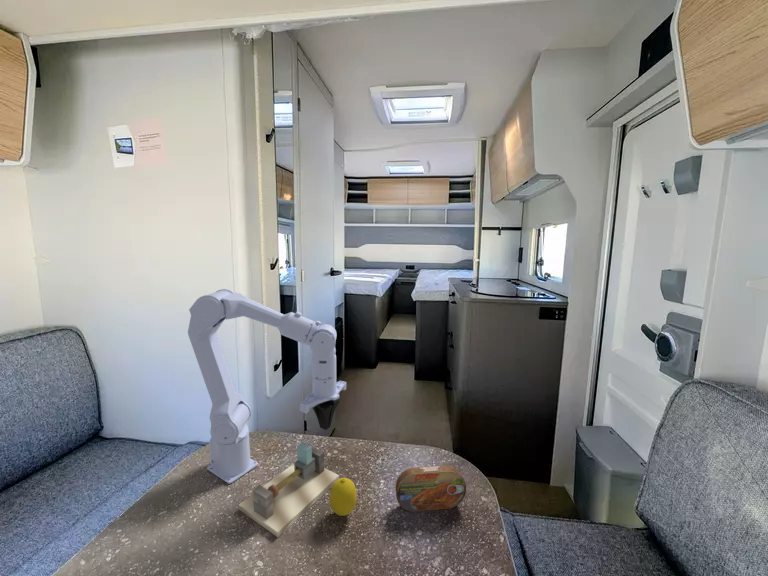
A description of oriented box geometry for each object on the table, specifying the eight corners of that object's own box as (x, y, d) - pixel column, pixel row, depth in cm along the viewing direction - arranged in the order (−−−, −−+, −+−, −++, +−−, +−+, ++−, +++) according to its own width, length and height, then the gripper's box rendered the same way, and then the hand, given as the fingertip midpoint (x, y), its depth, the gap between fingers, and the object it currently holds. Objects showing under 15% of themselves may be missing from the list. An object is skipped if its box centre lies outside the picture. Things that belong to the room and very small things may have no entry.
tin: (395, 513, 68) (396, 476, 67) (394, 501, 71) (394, 466, 70) (465, 508, 70) (468, 472, 68) (461, 496, 73) (462, 462, 72)
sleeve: (303, 479, 74) (303, 453, 73) (294, 474, 75) (293, 448, 74) (315, 470, 77) (314, 444, 76) (306, 465, 78) (305, 440, 77)
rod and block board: (278, 537, 62) (276, 509, 61) (239, 509, 69) (237, 483, 68) (339, 479, 77) (338, 456, 76) (302, 461, 84) (302, 439, 83)
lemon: (352, 527, 65) (352, 491, 63) (325, 522, 66) (325, 486, 64) (360, 505, 70) (360, 471, 69) (335, 501, 71) (335, 467, 70)
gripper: (315, 390, 70) (316, 448, 72) (355, 368, 83) (355, 418, 85) (292, 382, 74) (294, 437, 76) (334, 362, 86) (334, 410, 88)
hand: (325, 427), depth 81 cm, fingers closed
